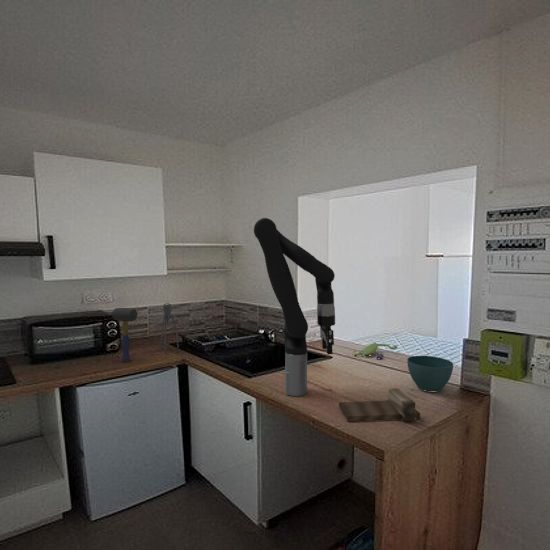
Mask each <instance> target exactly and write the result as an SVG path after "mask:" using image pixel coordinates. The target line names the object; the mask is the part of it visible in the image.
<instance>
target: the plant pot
mask: <svg viewBox="0 0 550 550" xmlns="http://www.w3.org/2000/svg"><path fill="white" fill-rule="evenodd" d="M406 362H407V367H408V372H409V374H410V377H411V379H412V381H413V383H414V384H415V386H416V387H418V389H419V388H420V390H421V389H422V390H421V391H423V390H426V391H439V390H440V391H442V389H444V387H446V385H447V384H448V382H449V380H450V379H451V377H452V373H453V369H454V363H453V362H452V360H449V359H447V358H443V357H437V356H431V355H413V356H409V357H408V358H407V361H406ZM426 391H425V392H426ZM440 391H439V392H440Z"/></svg>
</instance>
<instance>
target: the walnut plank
mask: <svg viewBox="0 0 550 550" xmlns="http://www.w3.org/2000/svg"><path fill="white" fill-rule="evenodd" d="M338 408H339V410H340V411H342V412H341V413H342V415H343V414H344V415H343V416H344V418H345V417H346V418H345V419H347V420H346V421H347V422H348V421H361V422H370V421H369V420H383V421H394V420H393V419H401V414H400V413H399V412H398V411H397V410H396V409H395V408H394V407H393V406H392V405H391V404H390V403H389V402H388V399H387V400H368V401H363V400H362V401H347V402H346V401H344V402H338ZM415 418H420V419H421V413H420V412H419V411H418V410H417V409H416V408H415Z"/></svg>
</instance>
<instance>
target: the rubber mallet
mask: <svg viewBox="0 0 550 550" xmlns="http://www.w3.org/2000/svg"><path fill="white" fill-rule="evenodd" d="M111 314H112V318H113V320H114V321H120V322H122V338H121V347H122V356H121V357H122V361H123V362H129V361H130V360H131V356H130V337H129V331H128V330H129V329H128V327H129V325H128V322H134V321H136V320H137V318H138V311H137V309H135V308H132V307H131V308H130V307H116V308H114V309H113V310H112V313H111Z"/></svg>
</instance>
